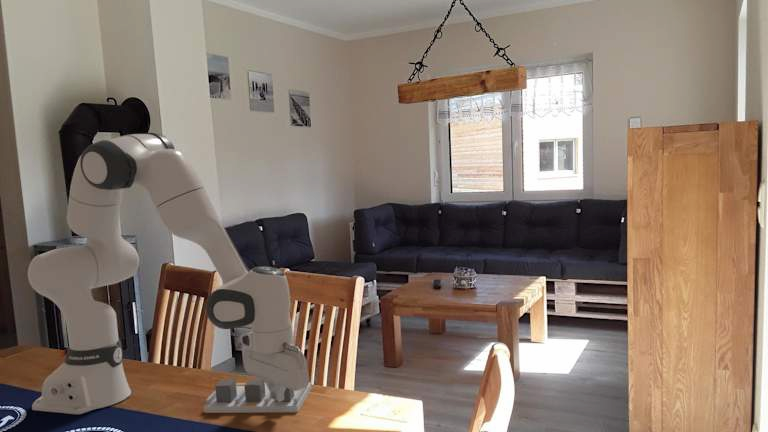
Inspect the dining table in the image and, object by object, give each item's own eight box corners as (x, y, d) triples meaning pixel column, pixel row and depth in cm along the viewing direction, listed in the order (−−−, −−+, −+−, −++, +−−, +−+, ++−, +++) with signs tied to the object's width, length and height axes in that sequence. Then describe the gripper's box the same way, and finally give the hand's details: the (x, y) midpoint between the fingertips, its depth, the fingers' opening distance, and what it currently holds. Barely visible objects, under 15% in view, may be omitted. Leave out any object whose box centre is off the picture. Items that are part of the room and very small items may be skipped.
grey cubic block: (245, 402, 140) (244, 385, 139) (250, 395, 143) (249, 379, 143) (260, 402, 139) (259, 385, 139) (265, 395, 143) (264, 379, 142)
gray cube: (216, 402, 141) (215, 385, 140) (222, 396, 144) (221, 379, 144) (231, 402, 140) (230, 385, 140) (237, 395, 144) (235, 379, 143)
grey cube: (275, 401, 139) (273, 385, 139) (279, 395, 142) (278, 379, 142) (290, 401, 139) (289, 384, 138) (294, 395, 142) (293, 379, 142)
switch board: (204, 412, 139) (203, 401, 139) (226, 388, 153) (225, 378, 152) (297, 412, 136) (296, 400, 136) (311, 388, 150) (311, 377, 150)
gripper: (313, 344, 129) (318, 406, 130) (259, 328, 143) (263, 384, 144) (289, 352, 124) (294, 416, 126) (235, 335, 138) (240, 393, 140)
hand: (277, 399), depth 135 cm, fingers closed
